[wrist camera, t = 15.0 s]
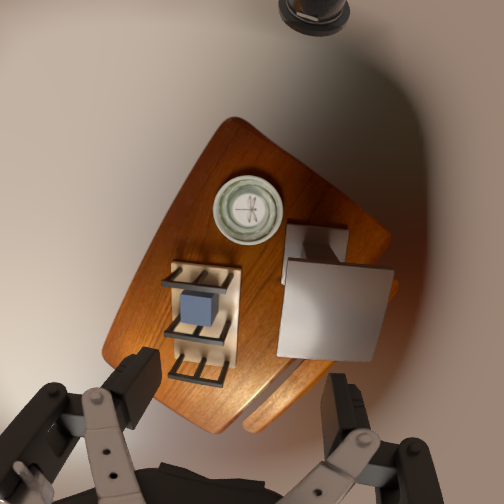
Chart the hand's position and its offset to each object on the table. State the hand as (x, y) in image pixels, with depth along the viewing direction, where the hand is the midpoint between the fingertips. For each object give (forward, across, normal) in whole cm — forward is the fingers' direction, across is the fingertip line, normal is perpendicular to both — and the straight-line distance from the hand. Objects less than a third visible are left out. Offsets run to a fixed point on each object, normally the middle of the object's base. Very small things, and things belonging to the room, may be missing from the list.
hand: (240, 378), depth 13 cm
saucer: (+32, +4, -4) cm, 32 cm away
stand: (+32, -6, +2) cm, 32 cm away
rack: (+31, +10, +14) cm, 36 cm away
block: (+30, +10, +10) cm, 34 cm away
